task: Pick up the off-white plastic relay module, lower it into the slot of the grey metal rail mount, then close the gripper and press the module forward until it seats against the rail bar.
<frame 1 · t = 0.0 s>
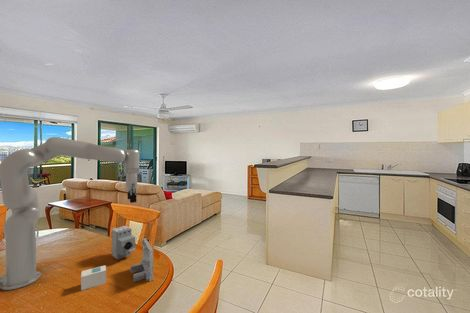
hand: (131, 200, 118), 31 cm above the table, fingers open, 9 cm apart
rail mount: (145, 272, 100), on the table
module: (93, 284, 91), on the table
circuit breaker: (123, 256, 116), on the table
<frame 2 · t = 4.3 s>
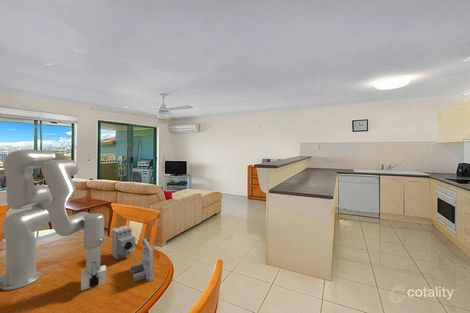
hand: (94, 282, 91), 1 cm above the table, fingers closed on module, 5 cm apart
module: (93, 283, 91), on the table, touching gripper
everything else where it was.
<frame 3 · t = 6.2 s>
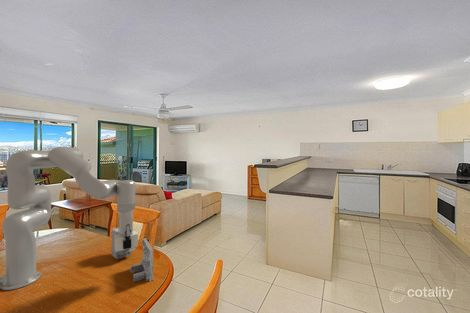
hand: (126, 245, 95), 16 cm above the table, fingers closed on module, 5 cm apart
module: (126, 247, 95), point 15 cm above the table, touching gripper
everything else where it was.
when the fingers open (2 cm above the table, at t = 8.5 s): module drops 1 cm, on the table.
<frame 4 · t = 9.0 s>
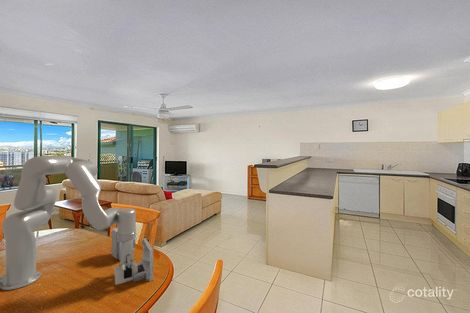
hand: (126, 272, 95), 3 cm above the table, fingers open, 9 cm apart
module: (126, 279, 95), on the table
everything else where it was.
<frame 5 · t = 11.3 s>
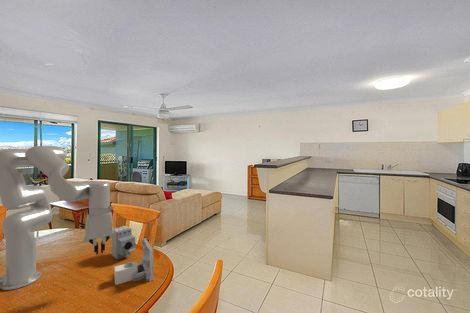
hand: (99, 252, 89), 15 cm above the table, fingers closed
nothing on the table moved.
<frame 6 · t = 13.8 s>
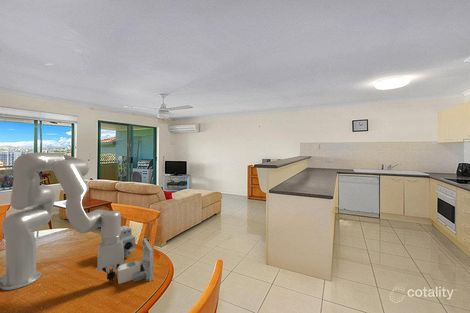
hand: (111, 279, 92), 2 cm above the table, fingers closed
module: (128, 277, 96), on the table, touching gripper
everything else where it was.
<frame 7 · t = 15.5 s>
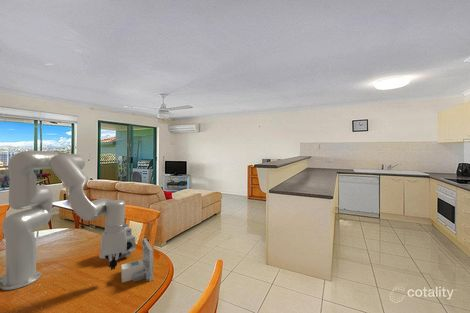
hand: (112, 268, 93), 6 cm above the table, fingers closed
module: (132, 276, 97), on the table
everything else where it was.
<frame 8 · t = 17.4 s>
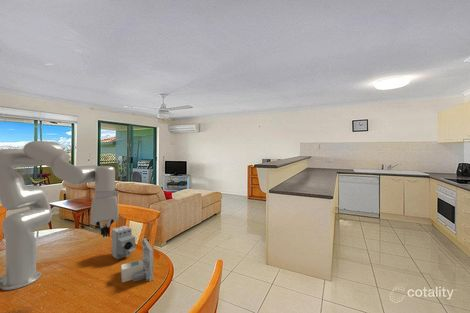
hand: (105, 235, 90), 22 cm above the table, fingers closed
nothing on the table moved.
at the end: module 0.3 cm from the target spot on the rail mount, point 0.0 cm above the rail mount's base; module tilted 0°; the gripper is holding nothing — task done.
